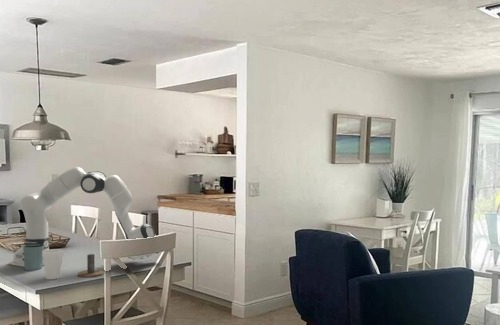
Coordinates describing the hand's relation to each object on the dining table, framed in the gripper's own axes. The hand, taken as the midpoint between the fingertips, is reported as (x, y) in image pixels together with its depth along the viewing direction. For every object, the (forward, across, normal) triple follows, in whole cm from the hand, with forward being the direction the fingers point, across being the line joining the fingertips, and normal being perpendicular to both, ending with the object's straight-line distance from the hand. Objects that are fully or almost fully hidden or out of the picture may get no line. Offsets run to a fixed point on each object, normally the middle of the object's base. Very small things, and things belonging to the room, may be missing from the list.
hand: (113, 254), depth 251 cm
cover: (+12, 0, +8) cm, 15 cm away
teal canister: (+26, -34, +8) cm, 43 cm away
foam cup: (+28, -8, +8) cm, 31 cm away
